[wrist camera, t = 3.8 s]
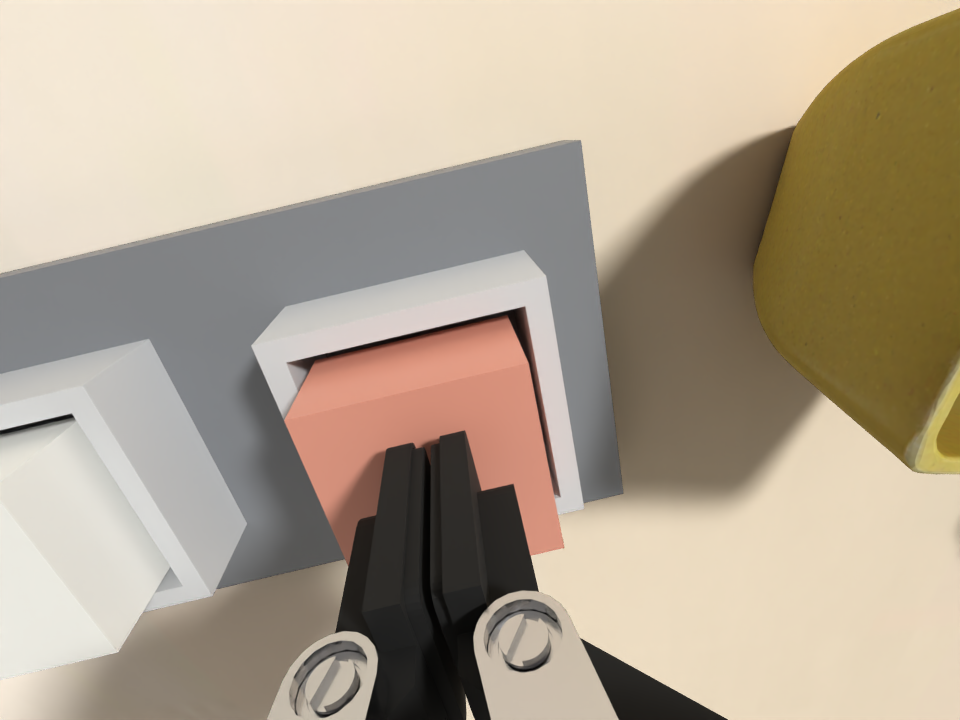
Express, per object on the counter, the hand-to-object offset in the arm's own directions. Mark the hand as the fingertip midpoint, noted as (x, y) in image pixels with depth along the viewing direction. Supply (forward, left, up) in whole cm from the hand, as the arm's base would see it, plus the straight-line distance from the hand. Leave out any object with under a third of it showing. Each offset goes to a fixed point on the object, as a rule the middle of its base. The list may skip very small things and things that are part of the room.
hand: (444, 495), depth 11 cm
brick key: (0, 0, -3) cm, 3 cm away
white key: (0, +11, -3) cm, 12 cm away
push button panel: (0, +6, -8) cm, 9 cm away
